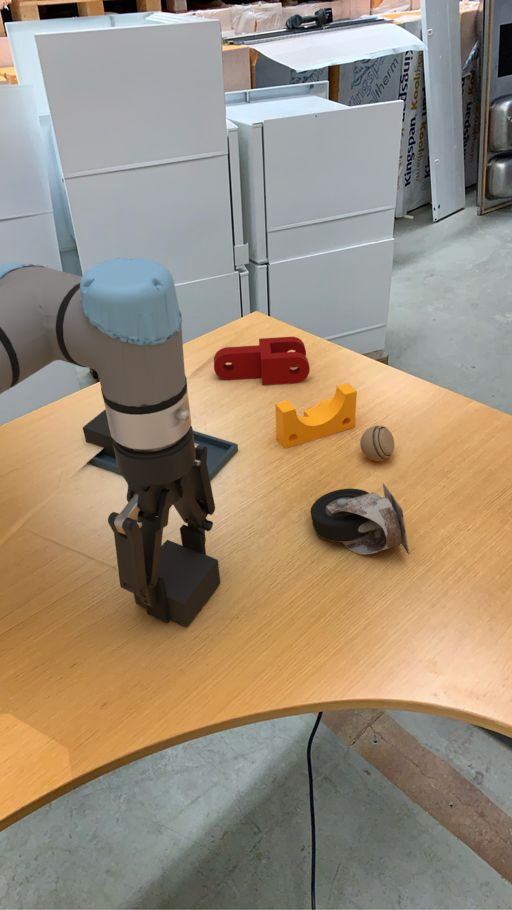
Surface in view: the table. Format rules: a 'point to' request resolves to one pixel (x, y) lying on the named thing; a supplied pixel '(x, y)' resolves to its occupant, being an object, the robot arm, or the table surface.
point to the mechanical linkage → (264, 361)
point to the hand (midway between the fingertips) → (178, 591)
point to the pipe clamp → (316, 418)
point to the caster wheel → (360, 520)
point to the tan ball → (377, 443)
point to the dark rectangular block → (186, 580)
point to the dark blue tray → (216, 448)
